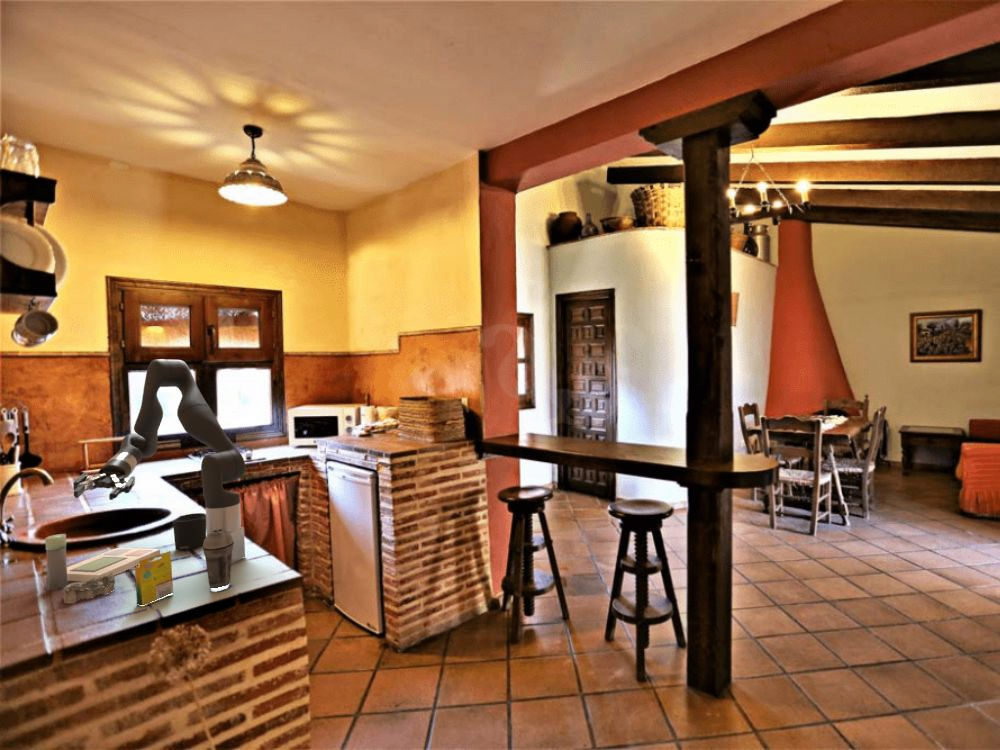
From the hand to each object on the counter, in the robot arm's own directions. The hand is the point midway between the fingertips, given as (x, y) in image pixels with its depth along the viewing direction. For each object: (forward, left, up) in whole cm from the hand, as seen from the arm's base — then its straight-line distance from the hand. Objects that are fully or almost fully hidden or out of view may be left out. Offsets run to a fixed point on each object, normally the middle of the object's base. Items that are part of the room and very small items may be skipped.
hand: (93, 496), depth 146 cm
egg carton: (-13, +13, -23) cm, 29 cm away
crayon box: (-34, +14, -23) cm, 43 cm away
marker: (+1, +10, -22) cm, 25 cm away
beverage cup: (-46, +6, -23) cm, 52 cm away
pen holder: (-12, -22, -23) cm, 34 cm away
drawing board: (0, -4, -22) cm, 23 cm away
